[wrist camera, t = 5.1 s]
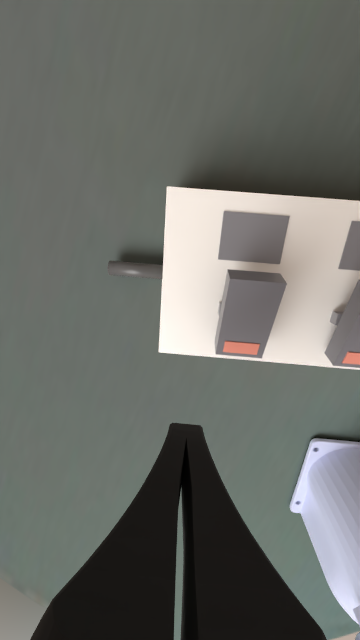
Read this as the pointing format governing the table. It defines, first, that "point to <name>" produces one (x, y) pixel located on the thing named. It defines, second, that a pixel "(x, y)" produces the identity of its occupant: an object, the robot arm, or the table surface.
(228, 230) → the power strip
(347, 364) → the block
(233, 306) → the block
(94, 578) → the robot arm
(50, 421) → the table surface
